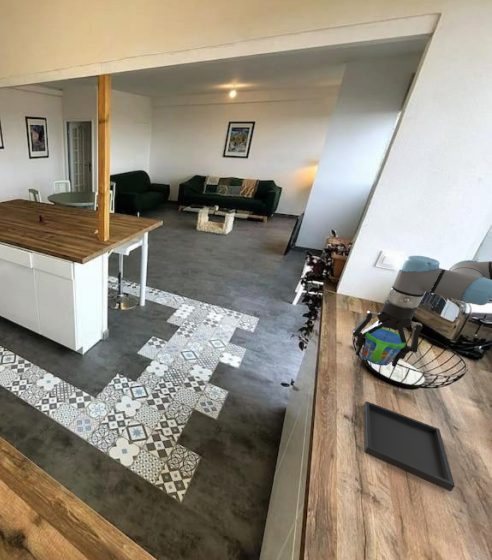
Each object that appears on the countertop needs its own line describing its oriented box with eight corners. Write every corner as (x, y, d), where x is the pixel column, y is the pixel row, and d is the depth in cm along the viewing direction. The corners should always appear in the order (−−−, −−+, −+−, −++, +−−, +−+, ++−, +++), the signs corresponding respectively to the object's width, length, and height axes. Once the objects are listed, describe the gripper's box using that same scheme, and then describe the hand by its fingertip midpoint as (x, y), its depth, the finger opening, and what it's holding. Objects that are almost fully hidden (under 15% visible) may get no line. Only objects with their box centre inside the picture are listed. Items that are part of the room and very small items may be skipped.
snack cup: (364, 343, 116) (374, 321, 112) (400, 358, 109) (413, 334, 104) (348, 360, 108) (358, 336, 104) (386, 377, 100) (399, 352, 96)
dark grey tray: (435, 433, 88) (439, 428, 88) (450, 491, 74) (455, 486, 73) (363, 405, 97) (365, 400, 96) (364, 452, 83) (367, 447, 82)
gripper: (358, 297, 102) (336, 352, 112) (452, 319, 90) (418, 378, 100) (358, 289, 107) (337, 342, 117) (447, 309, 95) (415, 365, 105)
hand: (374, 358), depth 108 cm, fingers closed on snack cup, 9 cm apart
